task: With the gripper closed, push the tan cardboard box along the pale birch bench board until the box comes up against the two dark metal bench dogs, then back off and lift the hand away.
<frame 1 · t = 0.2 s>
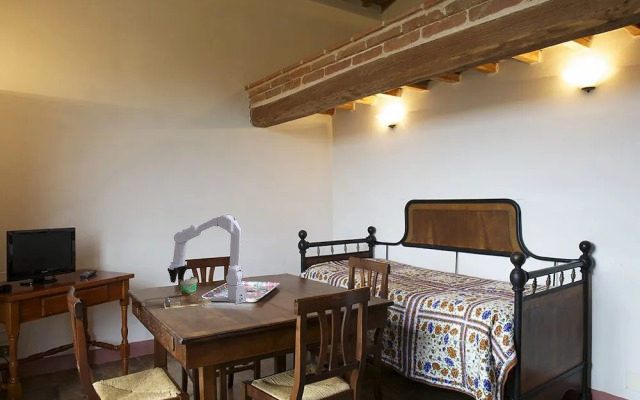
hand: (176, 281, 235), 11 cm above the table, tool pointing down, fingers open, 7 cm apart
food container: (191, 297, 243), on the table
tan cardboard box: (189, 303, 224), point 1 cm above the table, touching bench board
bench board: (188, 306, 224), on the table
bench dogs: (167, 308, 220), resting on bench board
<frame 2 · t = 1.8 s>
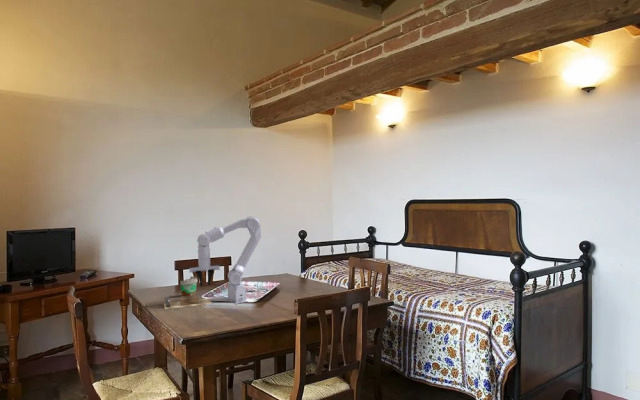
hand: (205, 285, 227), 9 cm above the table, tool pointing down, fingers open, 3 cm apart
nothing on the table moved.
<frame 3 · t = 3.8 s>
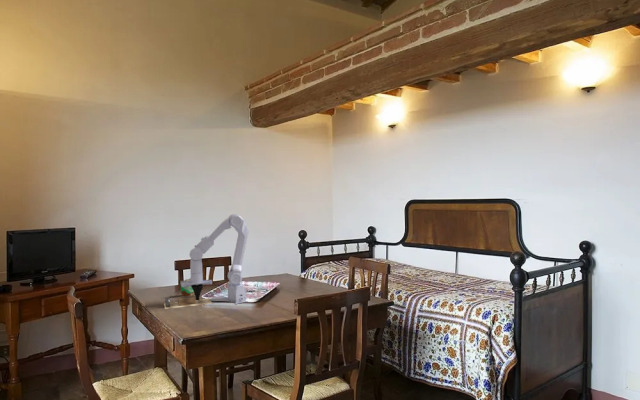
hand: (197, 299, 226), 3 cm above the table, tool pointing down, fingers closed
tan cardboard box: (186, 303, 224), point 2 cm above the table, touching gripper
everything else where it was.
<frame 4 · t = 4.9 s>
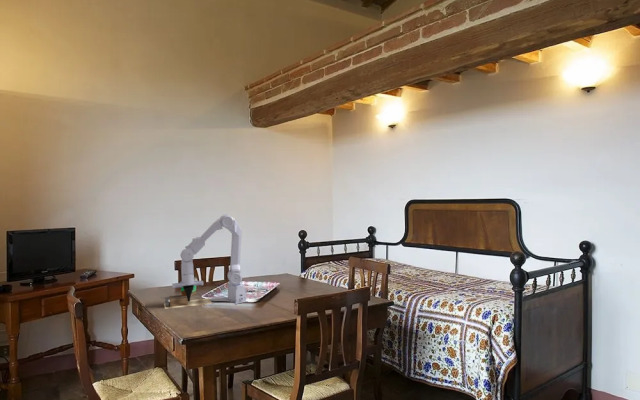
hand: (188, 301, 224), 3 cm above the table, tool pointing down, fingers closed
tan cardboard box: (178, 304, 222), point 2 cm above the table, touching bench board, bench dogs, gripper
everything else where it was.
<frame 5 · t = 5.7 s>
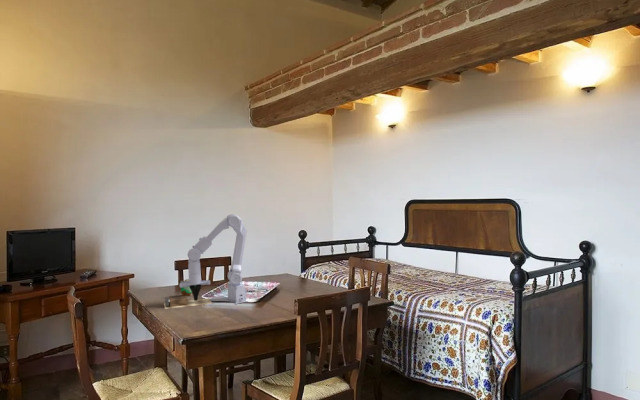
hand: (195, 300, 225), 3 cm above the table, tool pointing down, fingers closed
tan cardboard box: (178, 304, 222), point 1 cm above the table, touching bench board
everything else where it was.
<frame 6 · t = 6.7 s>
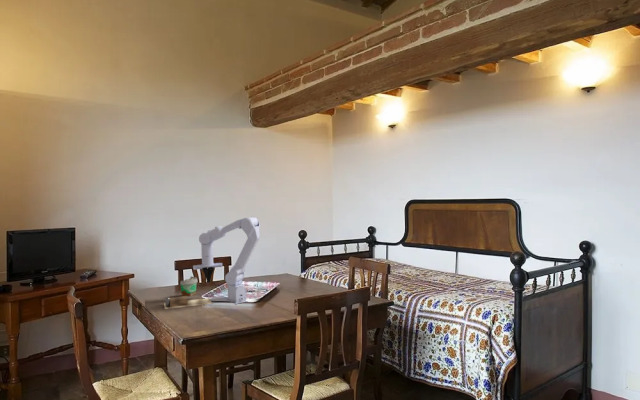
hand: (208, 282, 235), 9 cm above the table, tool pointing down, fingers closed
nothing on the table moved.
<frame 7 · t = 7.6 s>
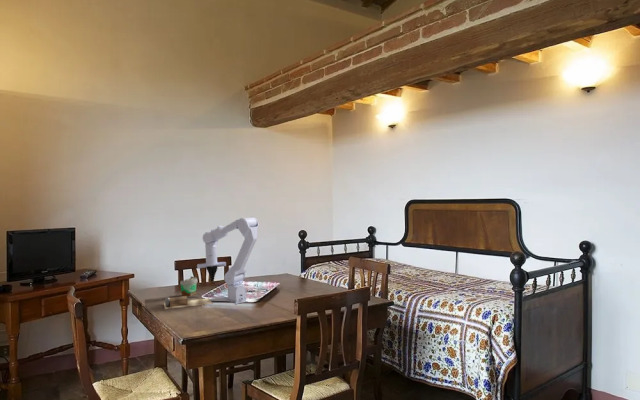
hand: (212, 280, 238), 9 cm above the table, tool pointing down, fingers closed
nothing on the table moved.
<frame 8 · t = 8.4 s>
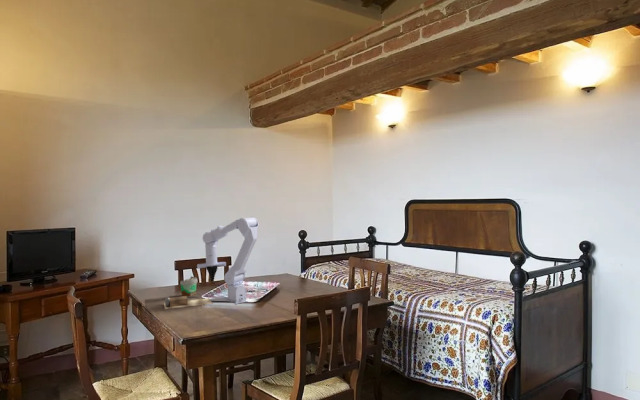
hand: (212, 280, 238), 9 cm above the table, tool pointing down, fingers closed
nothing on the table moved.
at the end: tan cardboard box 5.0 cm from the bench dogs (horizontally); tan cardboard box tilted 0°; tan cardboard box point 1.5 cm above the table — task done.
